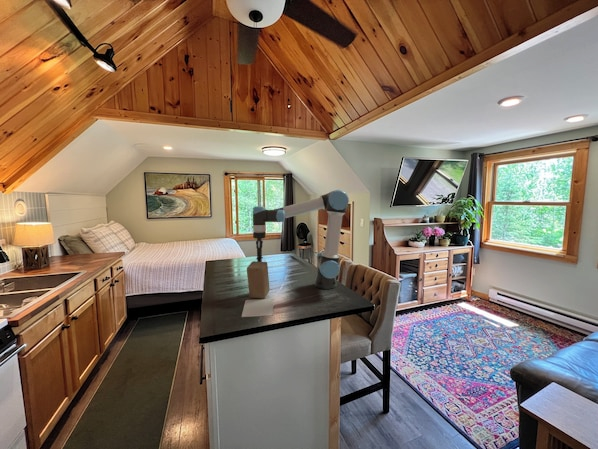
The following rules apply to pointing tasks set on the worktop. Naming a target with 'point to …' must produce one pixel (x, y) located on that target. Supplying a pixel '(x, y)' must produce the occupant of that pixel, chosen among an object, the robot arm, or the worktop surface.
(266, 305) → the mat
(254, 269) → the wooden block
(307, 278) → the worktop surface
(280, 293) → the worktop surface
